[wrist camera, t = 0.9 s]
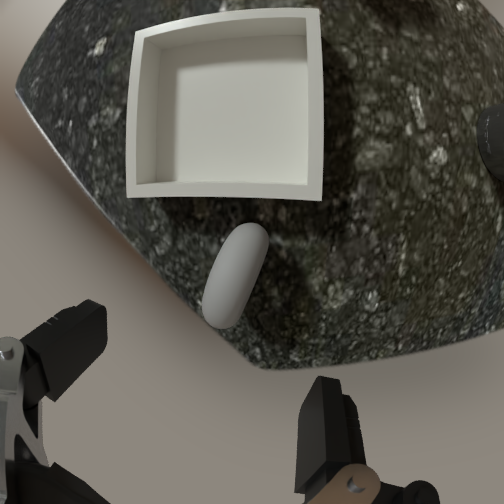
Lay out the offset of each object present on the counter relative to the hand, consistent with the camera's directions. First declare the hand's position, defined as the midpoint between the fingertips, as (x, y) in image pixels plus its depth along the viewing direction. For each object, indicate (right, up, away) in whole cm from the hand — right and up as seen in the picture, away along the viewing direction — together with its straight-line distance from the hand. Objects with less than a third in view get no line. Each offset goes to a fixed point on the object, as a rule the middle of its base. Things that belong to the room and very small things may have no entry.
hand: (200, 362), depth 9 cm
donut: (+1, +3, +21) cm, 21 cm away
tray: (0, +19, +16) cm, 25 cm away
